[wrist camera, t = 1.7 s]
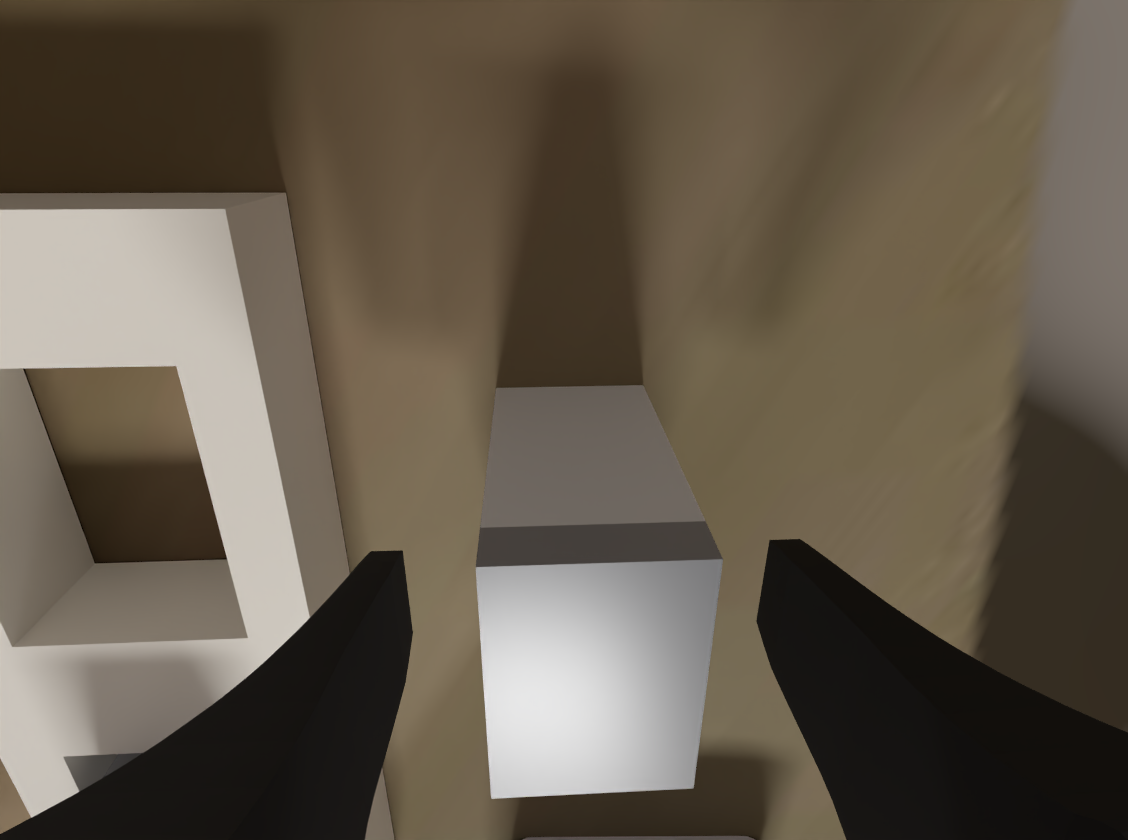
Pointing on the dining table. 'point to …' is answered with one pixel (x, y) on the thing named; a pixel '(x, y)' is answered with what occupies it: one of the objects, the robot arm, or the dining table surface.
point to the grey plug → (591, 596)
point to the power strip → (229, 457)
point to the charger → (646, 838)
